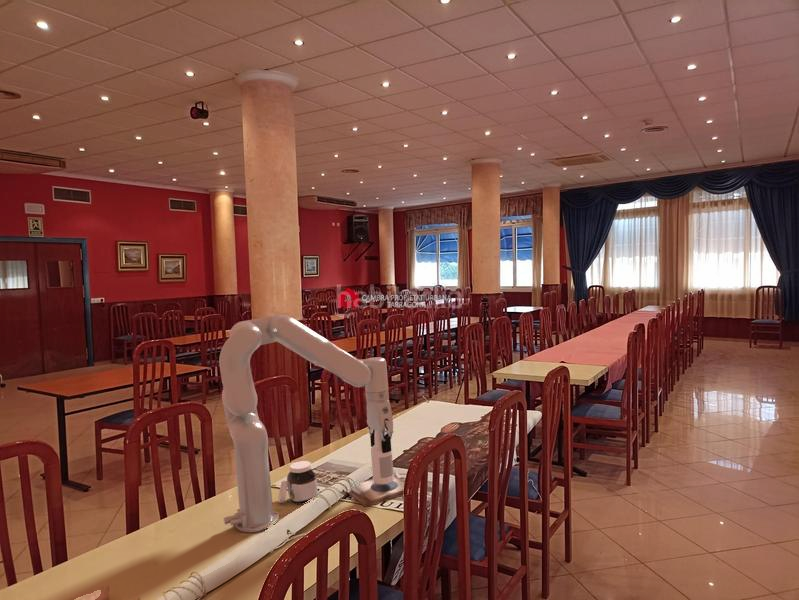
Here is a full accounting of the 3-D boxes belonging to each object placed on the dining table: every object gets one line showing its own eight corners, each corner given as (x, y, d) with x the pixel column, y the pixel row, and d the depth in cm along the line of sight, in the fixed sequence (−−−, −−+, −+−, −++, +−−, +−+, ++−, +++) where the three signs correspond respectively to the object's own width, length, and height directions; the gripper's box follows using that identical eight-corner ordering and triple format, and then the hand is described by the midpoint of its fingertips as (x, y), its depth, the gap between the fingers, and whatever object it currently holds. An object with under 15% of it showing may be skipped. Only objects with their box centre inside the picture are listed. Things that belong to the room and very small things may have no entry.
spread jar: (321, 499, 175) (318, 464, 175) (291, 512, 168) (287, 475, 167) (302, 490, 184) (299, 456, 184) (272, 501, 177) (269, 466, 176)
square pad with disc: (364, 507, 168) (364, 501, 168) (342, 490, 181) (342, 484, 181) (413, 491, 177) (413, 485, 177) (389, 476, 191) (388, 470, 190)
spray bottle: (391, 484, 175) (387, 430, 174) (370, 484, 176) (366, 430, 175) (395, 476, 182) (392, 423, 180) (376, 476, 183) (372, 424, 182)
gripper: (400, 398, 172) (404, 453, 173) (374, 389, 186) (378, 440, 188) (380, 402, 168) (384, 459, 169) (355, 393, 183) (358, 445, 184)
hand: (381, 448), depth 178 cm, fingers closed on spray bottle, 6 cm apart
